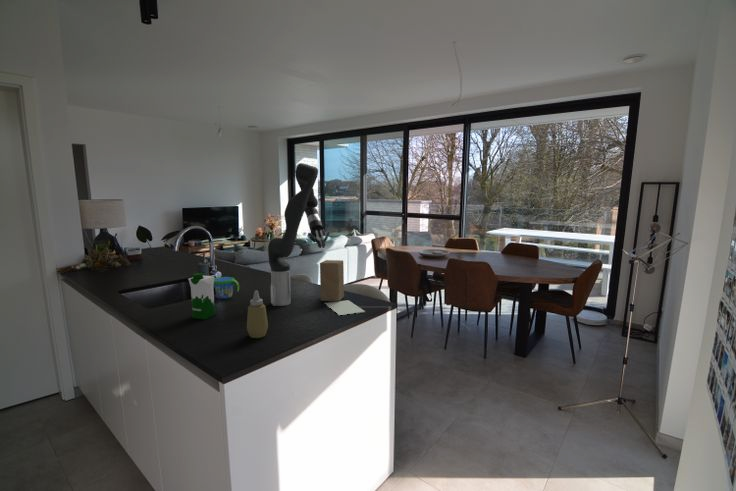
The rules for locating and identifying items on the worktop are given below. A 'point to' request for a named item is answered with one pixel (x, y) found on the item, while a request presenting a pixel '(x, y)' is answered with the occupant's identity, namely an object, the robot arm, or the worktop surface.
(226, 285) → the snack cup
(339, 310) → the mat
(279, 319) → the worktop surface
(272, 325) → the worktop surface
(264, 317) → the squeeze bottle
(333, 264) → the wooden block
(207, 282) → the milk carton
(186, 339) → the worktop surface
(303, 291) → the worktop surface
